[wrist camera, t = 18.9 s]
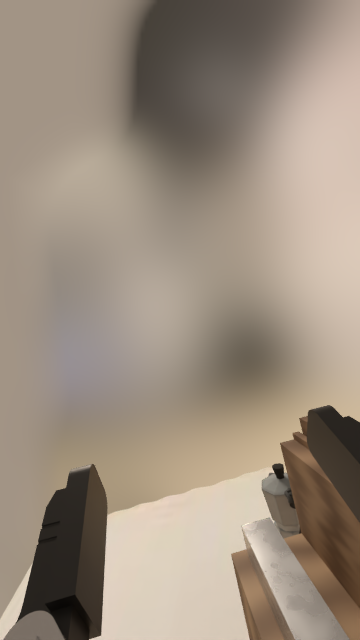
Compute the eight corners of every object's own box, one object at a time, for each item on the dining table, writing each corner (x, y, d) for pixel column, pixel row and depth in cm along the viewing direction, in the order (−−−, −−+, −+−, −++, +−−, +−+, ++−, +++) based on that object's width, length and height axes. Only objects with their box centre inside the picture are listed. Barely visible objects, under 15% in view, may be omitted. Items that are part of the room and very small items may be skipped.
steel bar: (549, 1007, 10) (519, 898, 11) (463, 1051, 10) (434, 937, 10) (276, 548, 34) (269, 517, 35) (248, 556, 34) (241, 525, 34)
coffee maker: (265, 541, 64) (247, 459, 66) (302, 529, 65) (283, 449, 67) (300, 599, 50) (275, 491, 51) (347, 582, 51) (321, 478, 52)
